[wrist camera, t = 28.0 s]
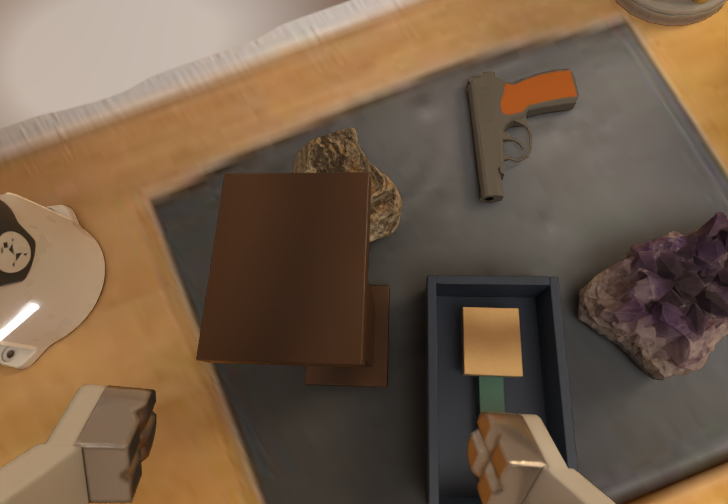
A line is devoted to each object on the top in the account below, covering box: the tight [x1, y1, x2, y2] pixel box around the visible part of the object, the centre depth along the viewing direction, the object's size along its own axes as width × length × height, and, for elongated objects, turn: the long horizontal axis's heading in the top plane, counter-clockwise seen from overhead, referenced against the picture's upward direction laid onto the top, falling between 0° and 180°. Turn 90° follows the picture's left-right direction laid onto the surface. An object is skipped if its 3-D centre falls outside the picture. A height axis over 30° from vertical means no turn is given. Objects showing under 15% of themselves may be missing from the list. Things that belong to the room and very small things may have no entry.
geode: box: [577, 212, 728, 380], centre depth 40 cm, size 20×12×10 cm, turn 120°
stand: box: [196, 172, 390, 388], centre depth 35 cm, size 8×10×25 cm
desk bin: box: [425, 275, 578, 504], centre depth 41 cm, size 12×20×6 cm, turn 178°
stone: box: [293, 128, 402, 244], centre depth 48 cm, size 14×10×10 cm
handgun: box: [466, 69, 578, 203], centre depth 51 cm, size 2×16×12 cm
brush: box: [461, 307, 523, 429], centre depth 41 cm, size 15×5×4 cm, turn 177°
